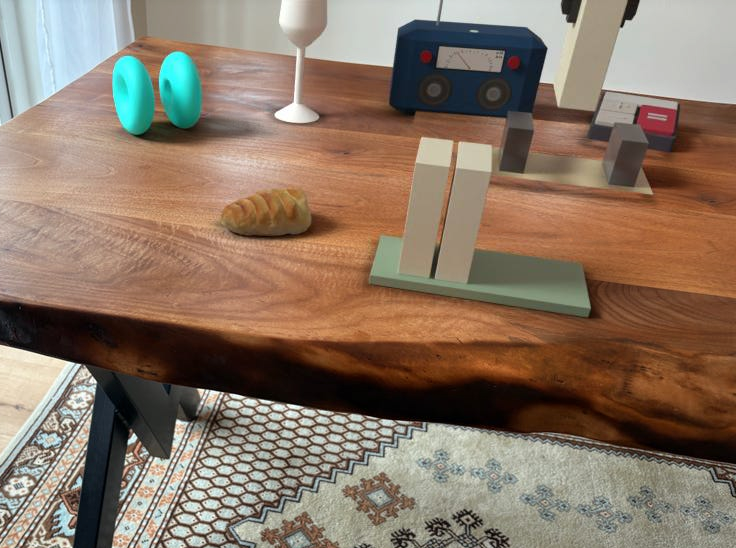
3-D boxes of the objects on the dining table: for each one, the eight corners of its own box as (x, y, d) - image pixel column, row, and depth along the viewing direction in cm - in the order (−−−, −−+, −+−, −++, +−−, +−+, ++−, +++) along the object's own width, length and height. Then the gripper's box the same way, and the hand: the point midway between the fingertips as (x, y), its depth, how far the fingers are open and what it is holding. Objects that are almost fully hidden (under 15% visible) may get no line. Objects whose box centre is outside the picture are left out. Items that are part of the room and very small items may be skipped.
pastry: (232, 244, 79) (233, 210, 77) (211, 218, 84) (211, 185, 82) (315, 233, 82) (318, 199, 80) (290, 208, 87) (292, 176, 85)
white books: (579, 272, 77) (616, 155, 70) (588, 317, 70) (629, 193, 63) (379, 243, 80) (396, 130, 74) (368, 284, 73) (385, 162, 66)
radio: (388, 116, 115) (408, -32, 104) (388, 99, 123) (407, -41, 111) (530, 127, 113) (567, -22, 102) (522, 110, 120) (555, -32, 109)
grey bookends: (638, 172, 100) (655, 122, 96) (650, 202, 92) (669, 149, 88) (481, 153, 104) (491, 105, 100) (480, 180, 96) (491, 129, 92)
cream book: (587, 89, 69) (626, -49, 63) (595, 111, 63) (638, -37, 57) (553, 85, 70) (588, -52, 63) (557, 107, 64) (596, -40, 58)
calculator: (591, 119, 106) (604, 86, 117) (583, 148, 108) (596, 114, 119) (678, 133, 102) (682, 98, 113) (667, 163, 105) (672, 127, 115)
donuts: (205, 136, 105) (205, 60, 100) (136, 145, 101) (132, 67, 96) (178, 115, 113) (176, 43, 107) (112, 123, 109) (107, 48, 103)
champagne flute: (295, 105, 118) (306, -73, 104) (328, 116, 114) (345, -67, 100) (265, 114, 114) (272, -70, 100) (298, 126, 110) (311, -64, 96)
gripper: (564, -251, 51) (506, 24, 61) (795, -245, 49) (694, 42, 59) (558, -243, 57) (505, 7, 67) (763, -237, 55) (677, 22, 65)
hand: (594, 22), depth 63 cm, fingers closed on cream book, 3 cm apart
